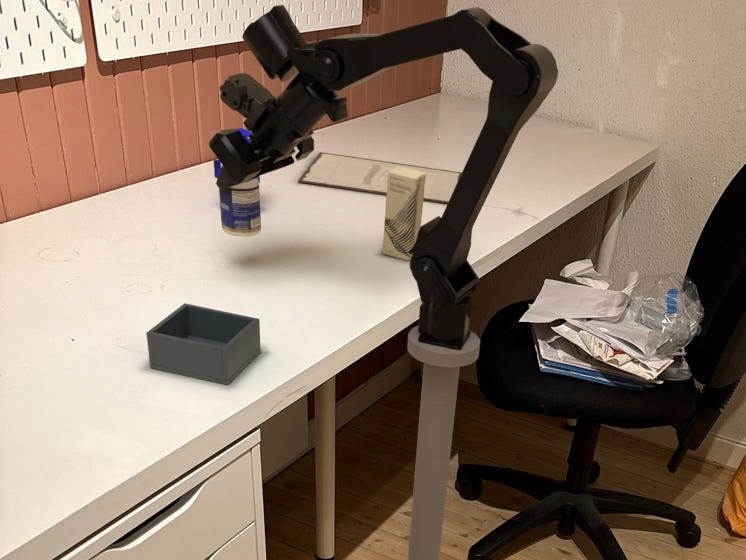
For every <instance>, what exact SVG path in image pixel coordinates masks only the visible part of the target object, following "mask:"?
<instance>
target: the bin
mask: <svg viewBox="0 0 746 560" xmlns="http://www.w3.org/2000/svg"><path fill="white" fill-rule="evenodd" d="M260 323H261V322H260V318H257V317H252V316H247V315H243V314H238V313H233V312H227V311H223V310H220V309H214V308H209V307H204V306H200V305H195V304H189V303H186V302H185V303H183V304H181V305H180V306H179V307H178V308H177V309H175V310H174V311H173V312H171V313H170V314H169V315H168V316H166V317H165V318H163V320H161V321H160V322H158V323H157V324H156V325H154V326H153V327H152V328H151V329H149V330H148V331H147V332H146V342H147V350H148V359H149V367H150V369H152V370H157V371H161V372H166V373H170V374H174V375H175V374H176V375H180V376H185V377H189V378H194V379H198V380H203V381H208V382H213V383H217V384H221V385H227V386H228V385H230V384H231V383H232V382H233V381H234V379H236V378H237V377H238V376H239V375H240V374H241V373H242V372H243V371H244V370H245V369H246V368H247V367H248V366H249V365H250V364H251V363H252V362H253V361H254V360H255V359H256V358H258V356H259V355H260V354H261V327H260V325H261V324H260Z"/></svg>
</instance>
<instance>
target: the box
mask: <svg viewBox="0 0 746 560" xmlns="http://www.w3.org/2000/svg"><path fill="white" fill-rule="evenodd" d="M425 179H426V173H425V172H421V171H417V170H413V169H409V168H404V167H400V166H397V167H395V168H394V169H392V170H391V171H389V172H388V183H387V194H386V198H385V214H384V225H383V226H384V227H383V239H382V254H383V255H385V256H390V257H394V258H398V259H401V260H404V261H410V260H411V257H412V255H413V254H409V253H408V252H409V250H410V249H412V248H413V246H414V244H415V242H416V239H417V235H418V232H419V229H420V227H421V226H422V218H423V210H424V209H423V208H424V188H425Z"/></svg>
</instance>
